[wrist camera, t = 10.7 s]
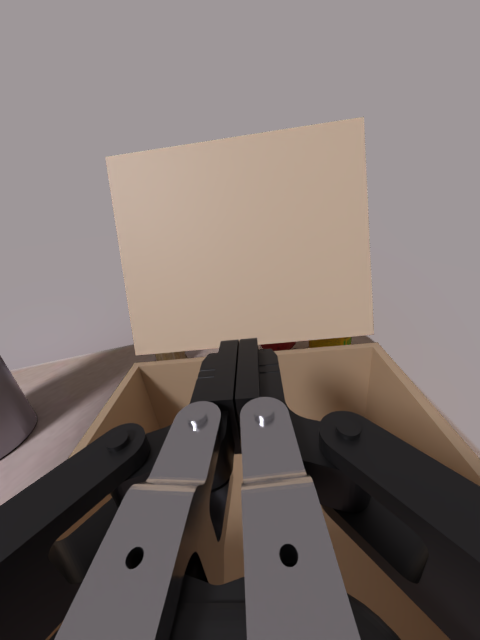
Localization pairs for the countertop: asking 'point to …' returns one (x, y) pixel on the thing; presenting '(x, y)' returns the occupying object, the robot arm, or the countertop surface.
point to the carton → (312, 403)
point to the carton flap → (246, 238)
